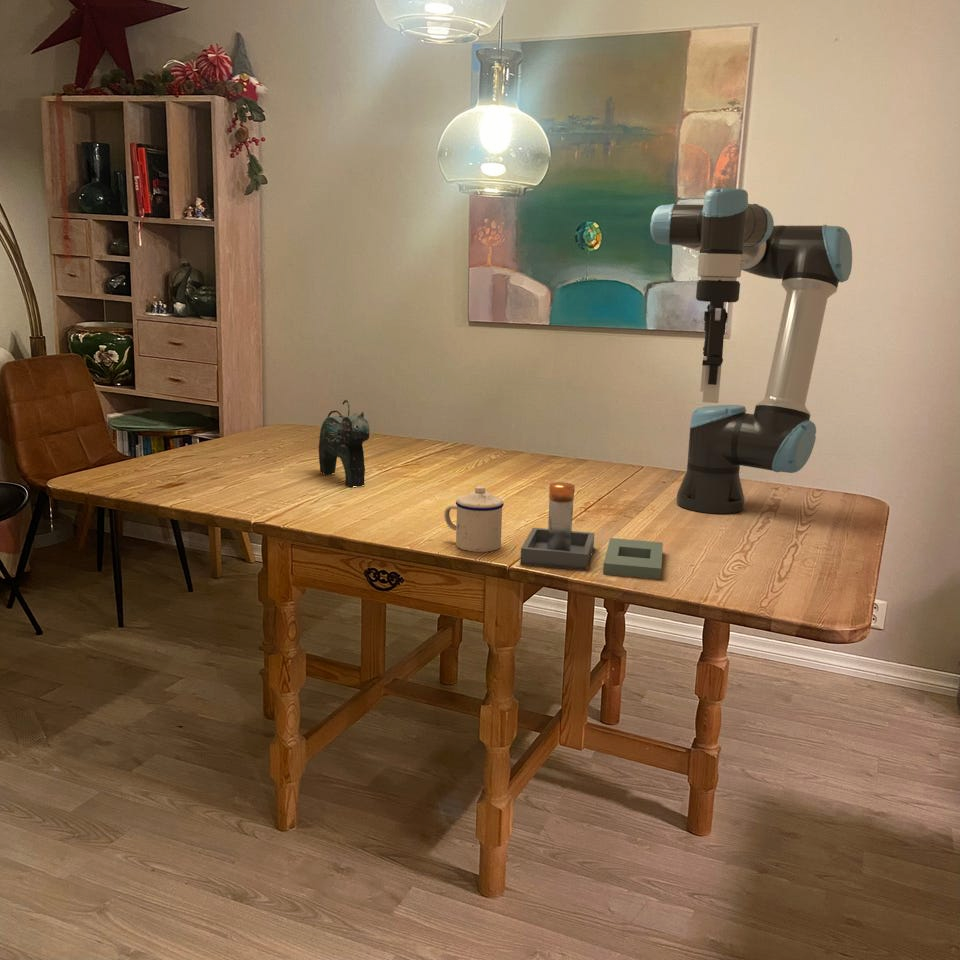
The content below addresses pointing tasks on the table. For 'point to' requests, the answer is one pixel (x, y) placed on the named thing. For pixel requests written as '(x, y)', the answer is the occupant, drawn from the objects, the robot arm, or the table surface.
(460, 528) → the teacup with lid
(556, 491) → the pepper shaker
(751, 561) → the table surface
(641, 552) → the green holder base
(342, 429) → the ceramic cat
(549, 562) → the tray
